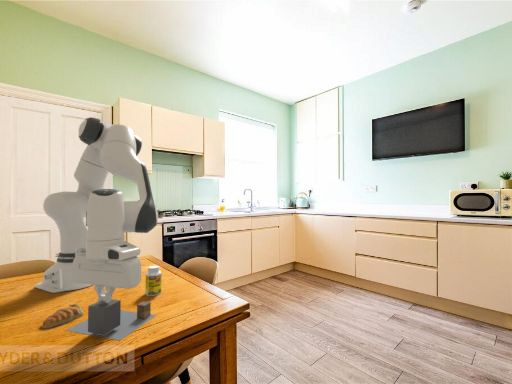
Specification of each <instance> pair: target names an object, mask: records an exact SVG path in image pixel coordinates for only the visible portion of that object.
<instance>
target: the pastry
mask: <svg viewBox="0 0 512 384" xmlns="http://www.w3.org/2000/svg"><path fill="white" fill-rule="evenodd" d="M83 315H84V311H83V309H82V308H81V305H80V304H77V303H73V304H69V305H68V306H65V307H63V308H60V309H57V310H56V311H55V312H54V313H52V314H51V315H49V316H48V317H47V318H45V320H43V322H42V326H41V327H42V329H52V328H55V327H57V326H61V325H64V324H67V323H69V322H71V321H74V320H76V319H78V318H80V317H82V316H83Z"/></svg>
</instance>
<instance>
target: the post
mask: <svg viewBox="0 0 512 384" xmlns="http://www.w3.org/2000/svg"><path fill="white" fill-rule="evenodd" d="M151 305H152V303H151V301H145V300H144V301H142V302H140V303H138V304H136V312H137V318H138V319H146V318H147V317H149V316H150V314H151Z"/></svg>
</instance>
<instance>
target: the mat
mask: <svg viewBox="0 0 512 384" xmlns="http://www.w3.org/2000/svg"><path fill="white" fill-rule="evenodd" d="M156 316H157V314H152V313H150V316H149V317H147V318H146V319H138V318H137V311H129V310H123V309H121V313H120V325H119V326H118V327H116V328H114V329H113V330H112V331H111V332H109V333H108V334H106V335H98V334H96V333H90V332H88V318H87V319H85V320H84V321H82V322H80V323H77V324H76V325H74V326H72V327H70V328H67V329H66V330H65V332H66V331H67V332H72V333H78V334H82V335H88V336H93V337H99V338H103V339H111V340H114V341H115V340H116V341H122V340H123V339H124V338H126V337H127V336H128V335H130V334H132V333H133V332H134V331H136V330H138V329H139V328H141V327H142V326H143V325H145V324H146V323H148V322H150V321H151V320H152V319H153V318H155V317H156Z"/></svg>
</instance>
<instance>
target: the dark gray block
mask: <svg viewBox="0 0 512 384" xmlns="http://www.w3.org/2000/svg"><path fill="white" fill-rule="evenodd" d="M121 303H122V302H121V299H113V298H112V301H111V302H109V303H105V302H98V301H97V302H95V303H92V304H90V305H88V306H87V311H88V313H87V314H88V315H87V316H88V318H87V319H88V332H90V333H96V334H101V335H105V334H106V333H108V332H110V331H111V330H113V329H114V328H116V327H118V326H119V325H120V313H121V310H122V307H121Z"/></svg>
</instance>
